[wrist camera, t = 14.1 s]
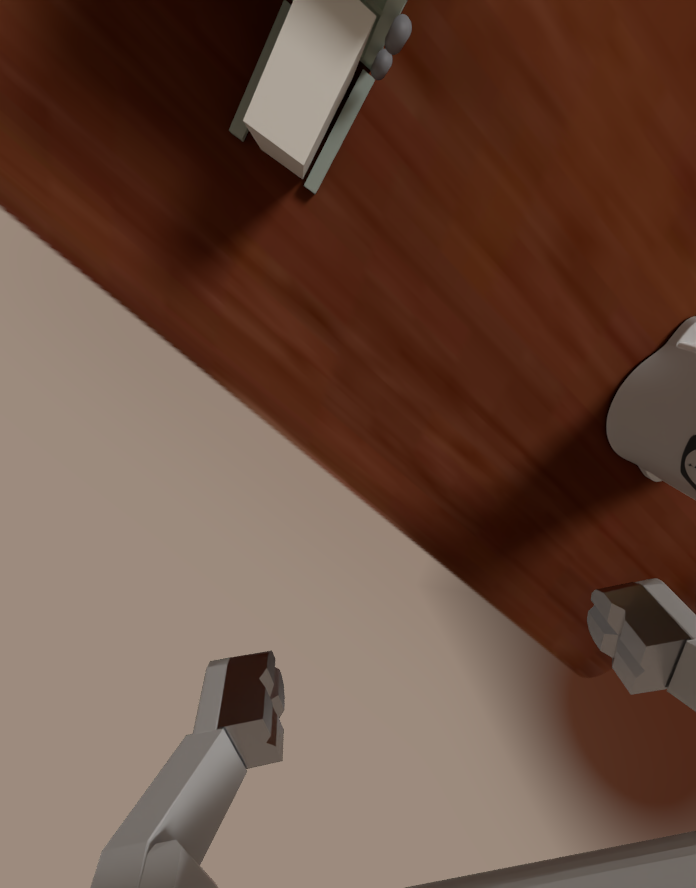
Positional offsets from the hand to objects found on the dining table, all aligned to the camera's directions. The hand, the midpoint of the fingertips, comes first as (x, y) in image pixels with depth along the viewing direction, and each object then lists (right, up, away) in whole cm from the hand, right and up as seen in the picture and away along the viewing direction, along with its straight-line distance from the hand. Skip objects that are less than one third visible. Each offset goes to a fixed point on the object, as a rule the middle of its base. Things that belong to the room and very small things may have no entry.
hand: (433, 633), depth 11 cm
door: (-5, +28, +20) cm, 35 cm away
